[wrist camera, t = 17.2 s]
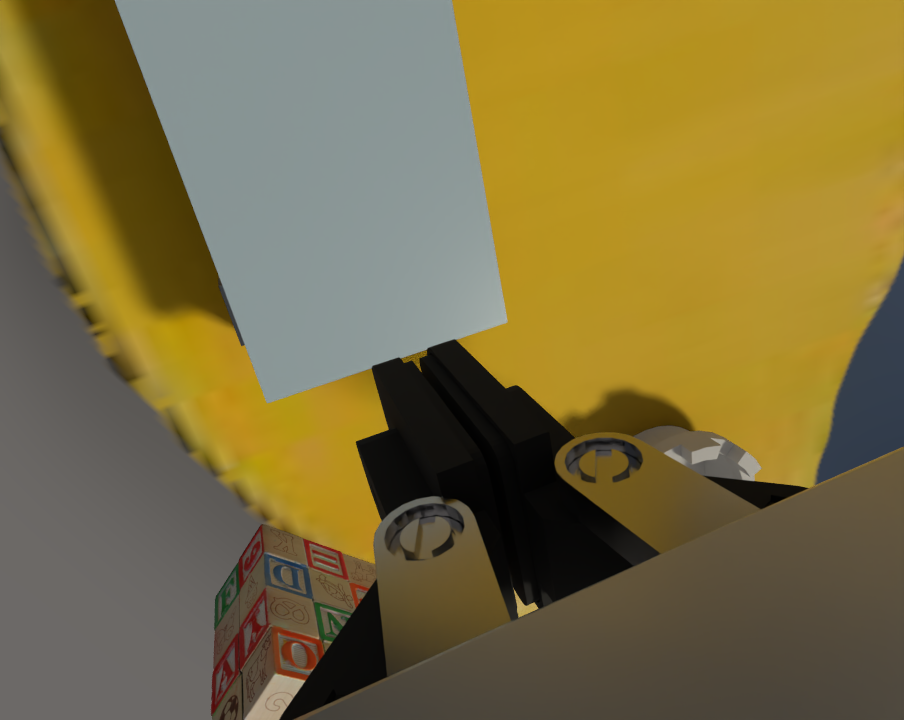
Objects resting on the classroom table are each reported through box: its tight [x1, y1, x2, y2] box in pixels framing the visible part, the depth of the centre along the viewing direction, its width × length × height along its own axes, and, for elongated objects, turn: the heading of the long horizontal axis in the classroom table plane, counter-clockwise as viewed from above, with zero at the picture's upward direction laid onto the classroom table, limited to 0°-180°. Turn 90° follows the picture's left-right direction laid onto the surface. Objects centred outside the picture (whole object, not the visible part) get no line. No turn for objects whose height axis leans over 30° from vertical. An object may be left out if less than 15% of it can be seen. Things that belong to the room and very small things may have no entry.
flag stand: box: [633, 426, 762, 481], centre depth 36 cm, size 13×13×30 cm
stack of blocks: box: [211, 524, 377, 720], centre depth 39 cm, size 21×6×12 cm, turn 55°
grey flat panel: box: [115, 0, 507, 403], centre depth 26 cm, size 27×13×2 cm, turn 12°
